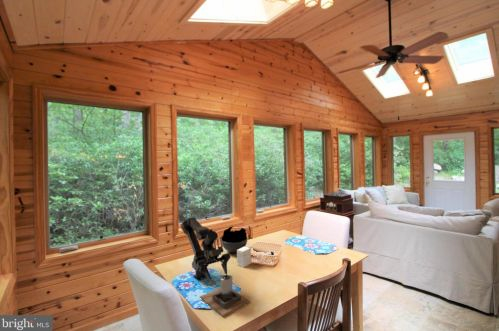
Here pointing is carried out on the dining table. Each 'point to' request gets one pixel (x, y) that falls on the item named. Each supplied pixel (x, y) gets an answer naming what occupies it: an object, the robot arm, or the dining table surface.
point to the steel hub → (226, 288)
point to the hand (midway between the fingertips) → (218, 276)
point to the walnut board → (219, 305)
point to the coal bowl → (234, 239)
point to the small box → (243, 256)
